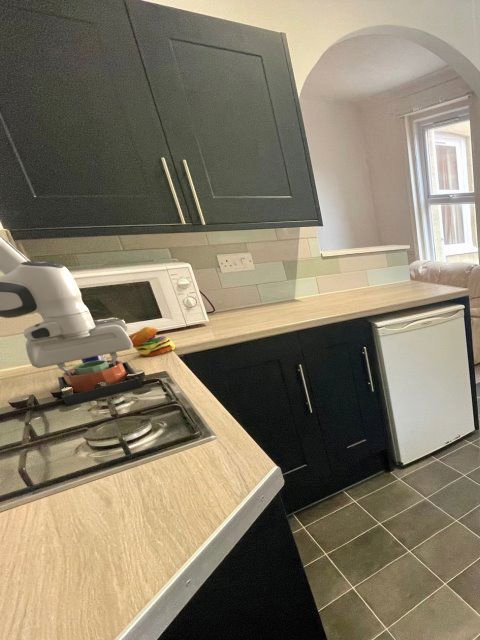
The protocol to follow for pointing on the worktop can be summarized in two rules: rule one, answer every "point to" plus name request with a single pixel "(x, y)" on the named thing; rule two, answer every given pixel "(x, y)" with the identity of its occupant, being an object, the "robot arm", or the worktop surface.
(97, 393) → the tray
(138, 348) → the cheeseburger
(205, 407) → the worktop surface
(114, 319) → the robot arm
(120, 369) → the big bowl
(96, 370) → the small bowl
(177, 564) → the worktop surface
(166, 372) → the worktop surface
